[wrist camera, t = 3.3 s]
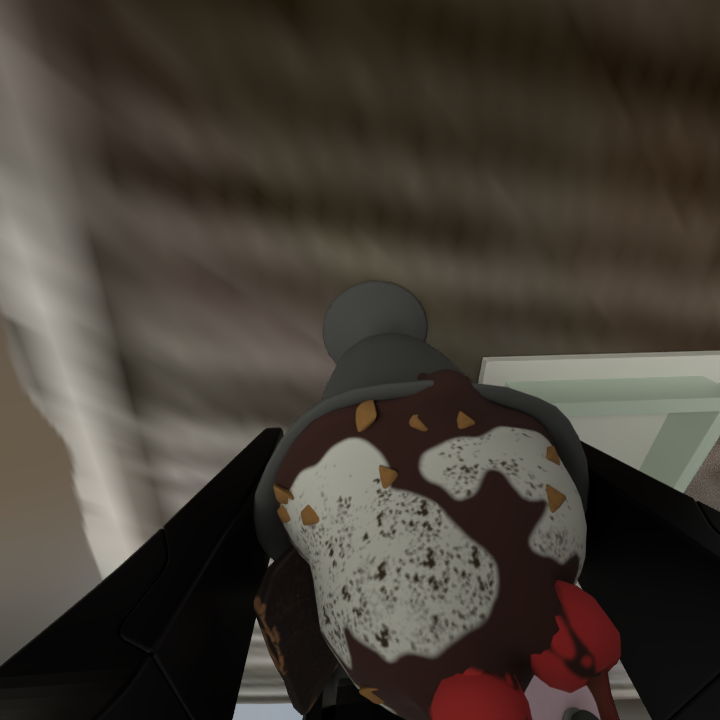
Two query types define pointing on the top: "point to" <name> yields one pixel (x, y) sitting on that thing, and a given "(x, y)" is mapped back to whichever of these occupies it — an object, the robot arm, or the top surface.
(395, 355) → the sundae
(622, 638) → the robot arm
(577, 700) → the blender
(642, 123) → the top surface
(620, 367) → the holder cell
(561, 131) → the top surface
